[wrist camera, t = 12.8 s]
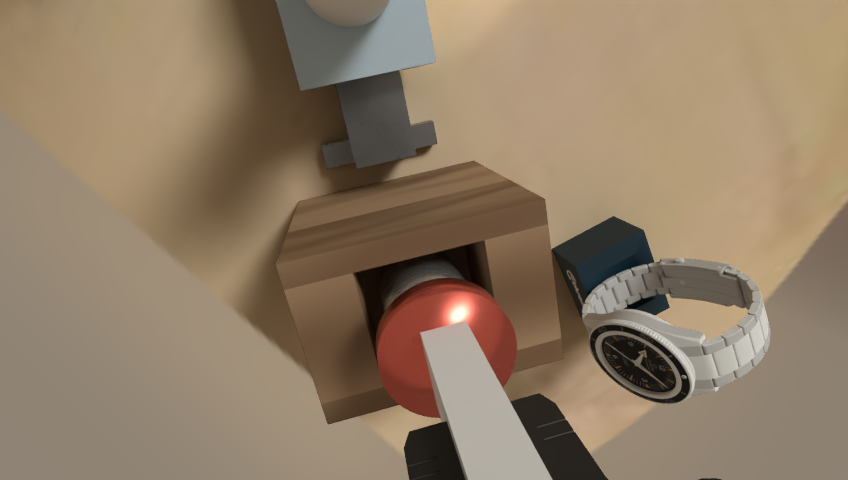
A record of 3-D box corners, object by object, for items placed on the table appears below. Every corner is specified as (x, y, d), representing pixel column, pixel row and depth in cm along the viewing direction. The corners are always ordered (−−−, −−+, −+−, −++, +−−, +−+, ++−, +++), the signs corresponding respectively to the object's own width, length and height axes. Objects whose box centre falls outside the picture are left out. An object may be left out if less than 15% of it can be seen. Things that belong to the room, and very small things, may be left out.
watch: (524, 263, 30) (623, 357, 19) (638, 202, 30) (798, 264, 19) (555, 333, 31) (660, 452, 21) (662, 275, 32) (820, 367, 21)
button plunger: (356, 248, 20) (363, 313, 14) (460, 223, 21) (506, 276, 15) (380, 341, 22) (395, 433, 16) (476, 316, 22) (525, 396, 16)
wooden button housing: (298, 201, 26) (275, 264, 17) (473, 160, 27) (544, 199, 18) (332, 313, 28) (327, 424, 19) (492, 272, 29) (563, 358, 20)
